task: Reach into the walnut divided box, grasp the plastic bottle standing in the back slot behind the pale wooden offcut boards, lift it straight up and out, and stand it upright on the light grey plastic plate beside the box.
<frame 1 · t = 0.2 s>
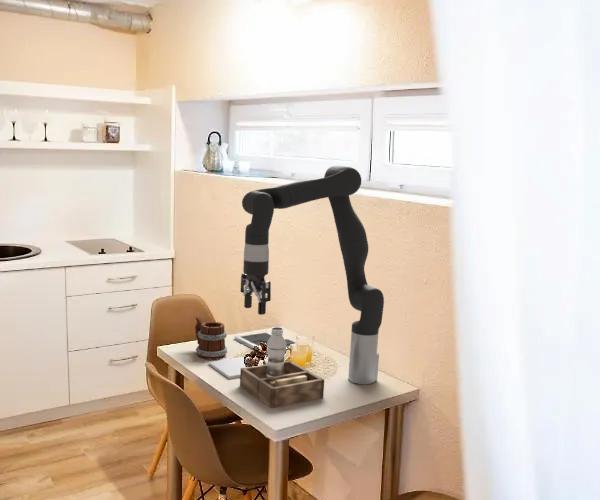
hand: (254, 311, 196), 29 cm above the table, tool pointing down, fingers open, 8 cm apart
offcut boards: (290, 398, 205), resting in walnut divided box
grey plate: (239, 368, 229), on the table
mug: (208, 354, 243), on the table
picture frame: (264, 345, 260), on the table
plastic bottle: (274, 388, 213), resting in walnut divided box
walnut divided box: (280, 391, 210), on the table
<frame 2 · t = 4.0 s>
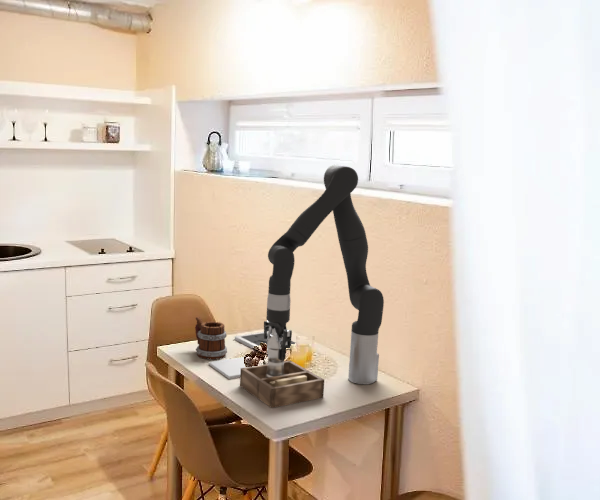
hand: (276, 356, 211), 11 cm above the table, tool pointing down, fingers closed on plastic bottle, 6 cm apart
plastic bottle: (274, 388, 213), resting in walnut divided box, touching gripper
everything else where it was.
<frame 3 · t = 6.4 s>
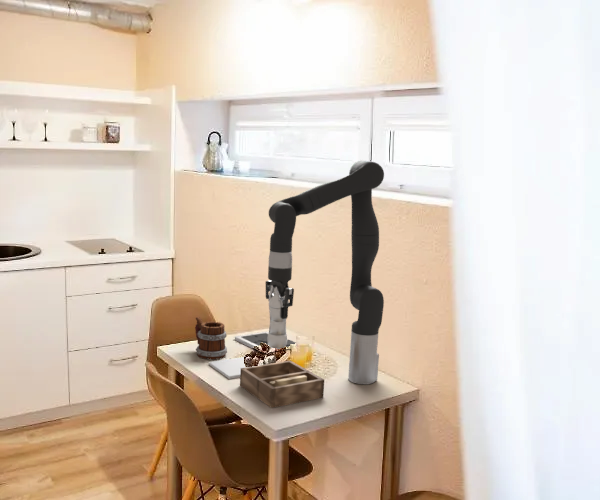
hand: (278, 315, 209), 24 cm above the table, tool pointing down, fingers closed on plastic bottle, 6 cm apart
plastic bottle: (276, 348, 211), point 13 cm above the table, touching gripper
everything else where it was.
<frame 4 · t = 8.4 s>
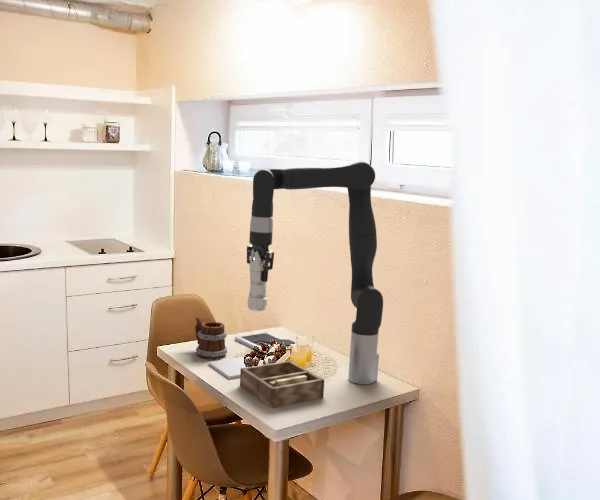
hand: (258, 279, 216), 34 cm above the table, tool pointing down, fingers closed on plastic bottle, 6 cm apart
plastic bottle: (256, 311, 218), point 23 cm above the table, touching gripper
everything else where it was.
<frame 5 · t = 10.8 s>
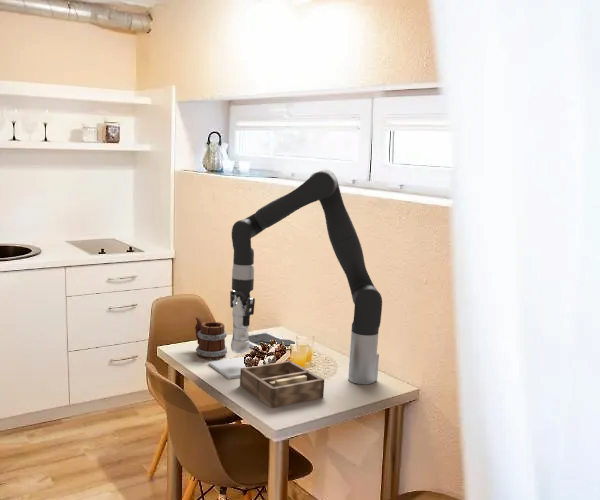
hand: (241, 323, 227), 17 cm above the table, tool pointing down, fingers closed on plastic bottle, 6 cm apart
plastic bottle: (239, 353, 228), point 6 cm above the table, touching gripper
everything else where it was.
when the fingers open (12 cm above the table, at t = 13.0 s): plastic bottle stays where it is, resting on grey plate.
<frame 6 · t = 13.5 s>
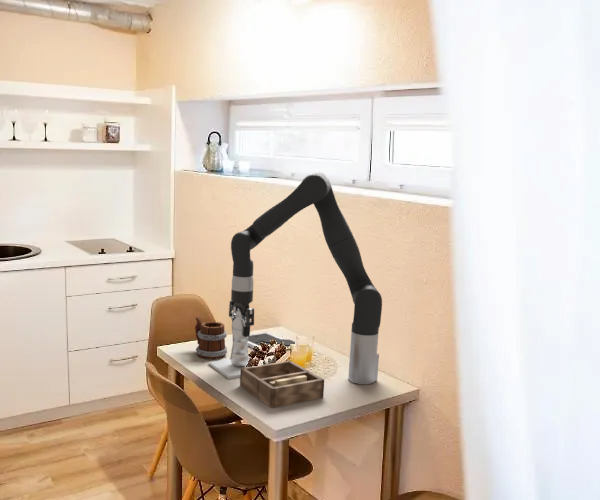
hand: (240, 333, 227), 13 cm above the table, tool pointing down, fingers open, 8 cm apart
plastic bottle: (239, 366, 229), point 1 cm above the table, touching grey plate
everything else where it was.
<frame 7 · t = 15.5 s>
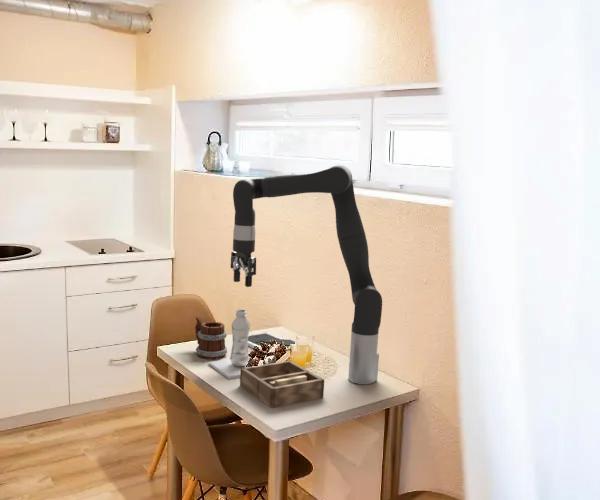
hand: (242, 284, 225), 31 cm above the table, tool pointing down, fingers open, 8 cm apart
nothing on the table moved.
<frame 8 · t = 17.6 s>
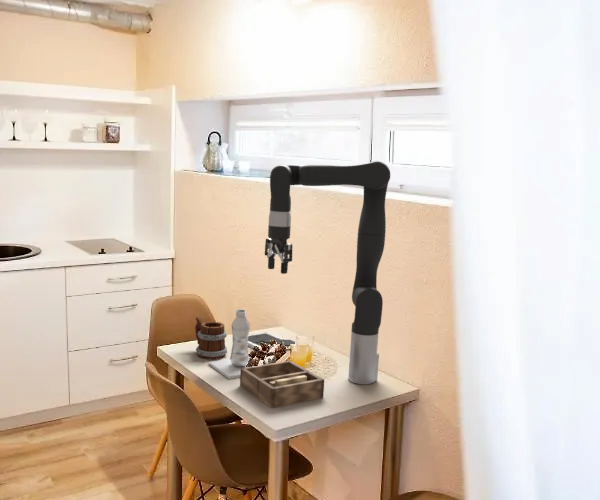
hand: (277, 271, 222), 36 cm above the table, tool pointing down, fingers open, 8 cm apart
at the end: plastic bottle inside the target area on the grey plate (0.1 cm from its centre), point 0.8 cm above the grey plate's base; plastic bottle tilted 0°; the gripper is holding nothing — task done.
